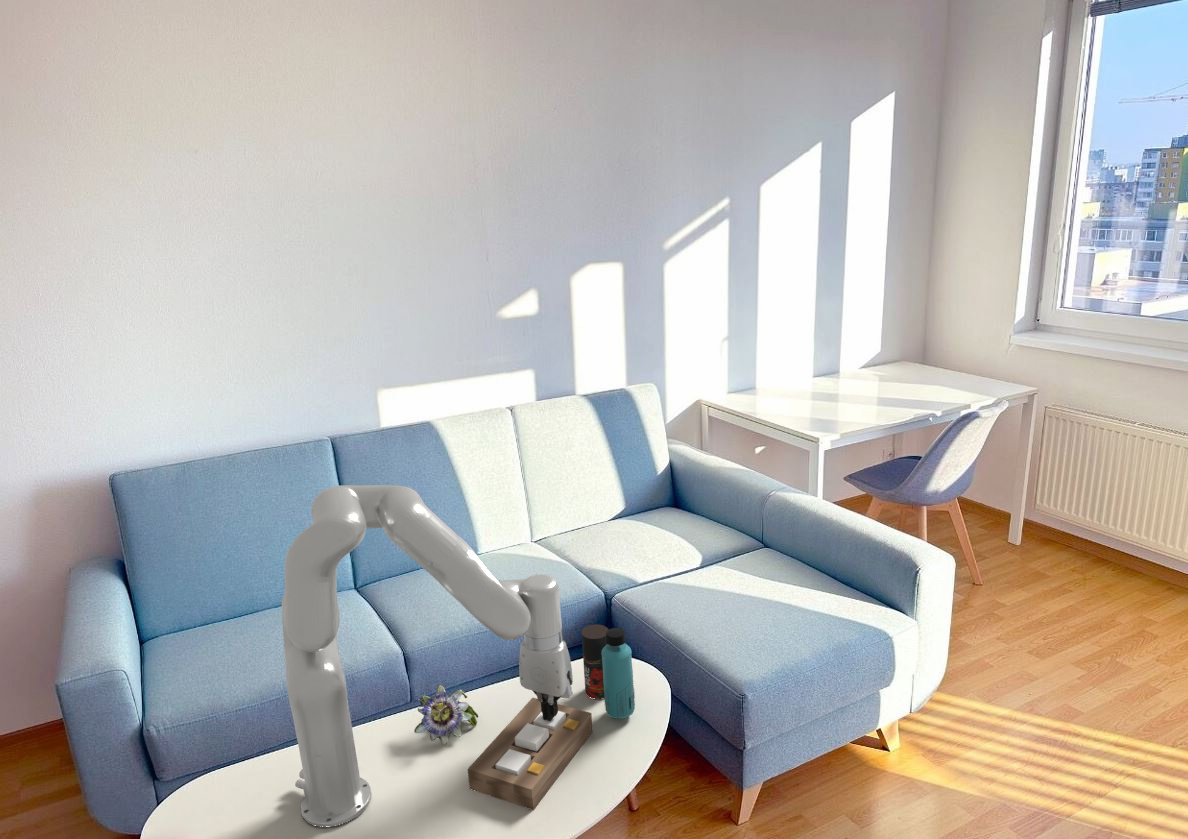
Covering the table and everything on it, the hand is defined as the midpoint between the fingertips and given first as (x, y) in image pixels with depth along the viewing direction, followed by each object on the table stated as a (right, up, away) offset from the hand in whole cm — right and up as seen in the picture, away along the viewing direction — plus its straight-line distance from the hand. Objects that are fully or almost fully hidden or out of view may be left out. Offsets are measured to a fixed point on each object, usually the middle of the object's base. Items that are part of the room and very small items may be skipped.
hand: (550, 716), depth 169 cm
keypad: (-3, -7, -5) cm, 9 cm away
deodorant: (+10, 0, +16) cm, 19 cm away
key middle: (-3, -3, -6) cm, 7 cm away
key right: (0, -2, +1) cm, 2 cm away
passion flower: (-22, -5, +6) cm, 23 cm away
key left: (-6, -6, -12) cm, 14 cm away
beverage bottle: (+14, -3, +7) cm, 16 cm away
